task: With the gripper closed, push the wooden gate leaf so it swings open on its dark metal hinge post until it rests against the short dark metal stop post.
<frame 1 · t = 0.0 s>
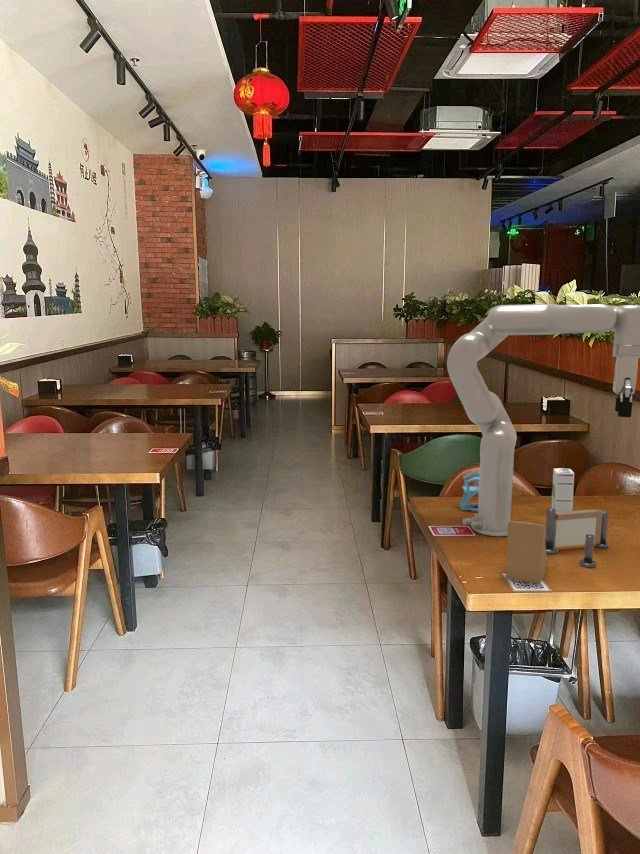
hand: (622, 414, 178), 37 cm above the table, tool pointing down, fingers open, 9 cm apart
gate leaf: (577, 528, 180), point 6 cm above the table, hinge at 0.0°
syrup box: (561, 513, 213), on the table
gate frame: (548, 551, 179), on the table
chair: (472, 509, 217), on the table
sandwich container: (527, 571, 166), on the table
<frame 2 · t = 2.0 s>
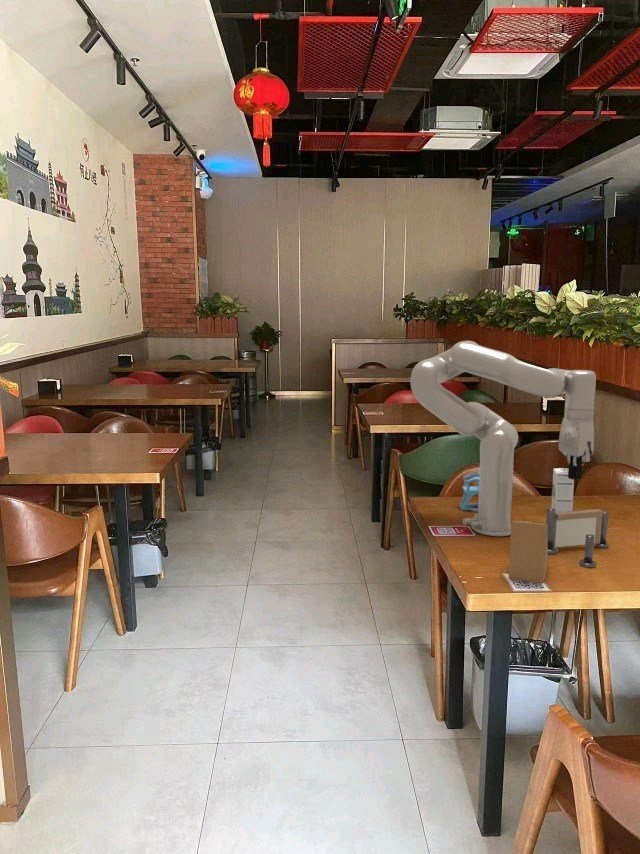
hand: (574, 478, 184), 18 cm above the table, tool pointing down, fingers closed
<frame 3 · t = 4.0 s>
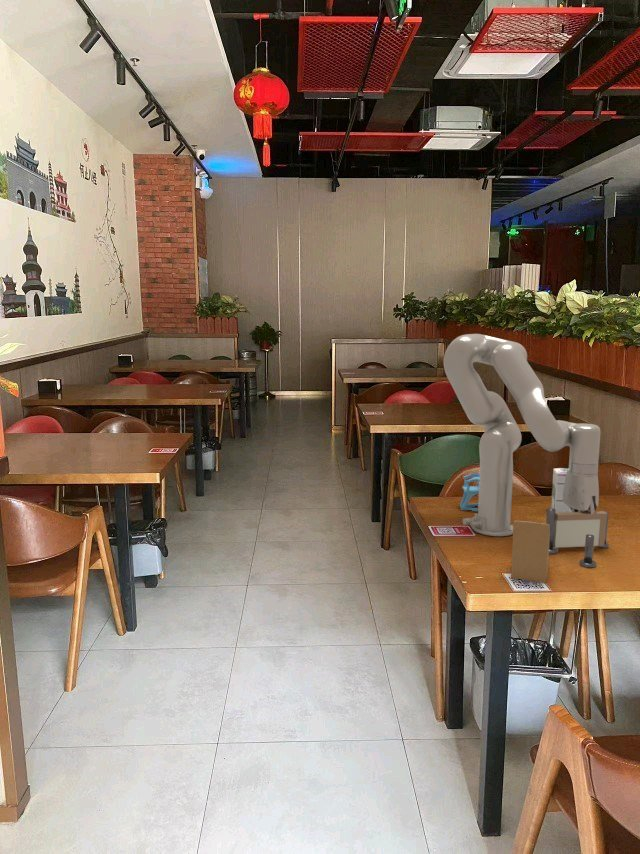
hand: (578, 531, 184), 4 cm above the table, tool pointing down, fingers closed
gate leaf: (579, 529, 179), point 6 cm above the table, hinge at 7.6°, touching gripper
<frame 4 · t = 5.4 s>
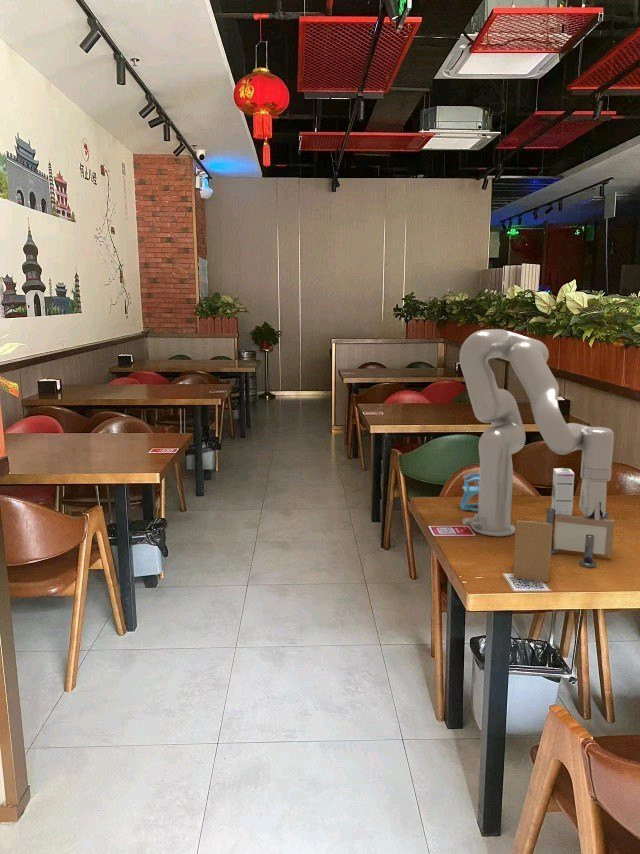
hand: (590, 537, 178), 4 cm above the table, tool pointing down, fingers closed
gate leaf: (583, 534, 175), point 6 cm above the table, hinge at 35.4°, touching gripper
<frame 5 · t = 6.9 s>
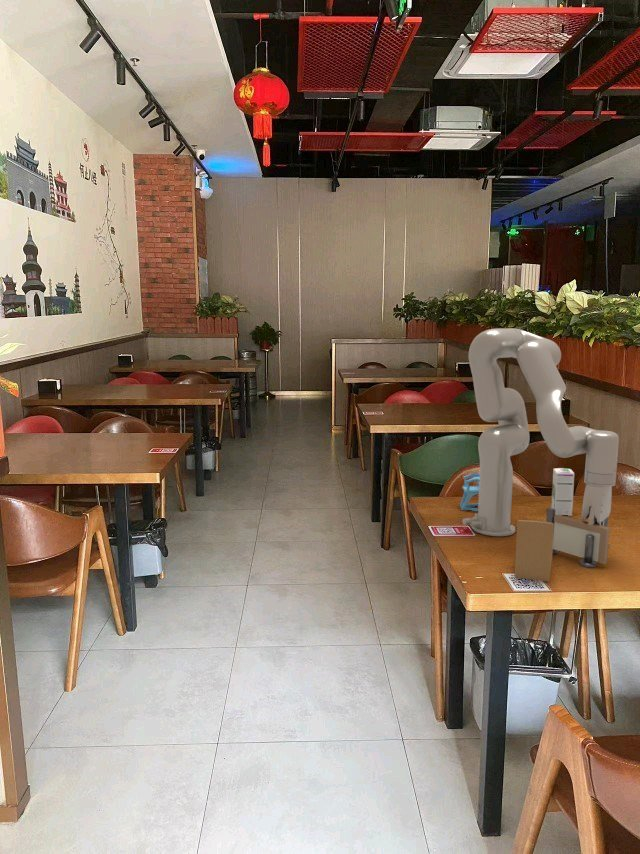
hand: (594, 544, 173), 4 cm above the table, tool pointing down, fingers closed
gate leaf: (580, 538, 172), point 6 cm above the table, hinge at 62.0°, touching gate frame, gripper
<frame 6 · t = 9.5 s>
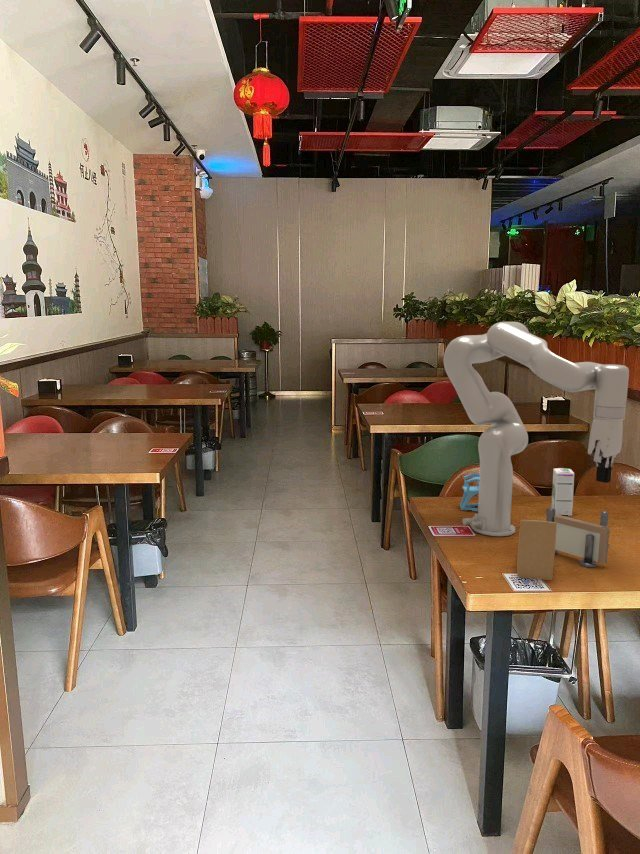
hand: (603, 481, 171), 21 cm above the table, tool pointing down, fingers closed
gate leaf: (580, 538, 172), point 6 cm above the table, hinge at 62.0°, touching gate frame
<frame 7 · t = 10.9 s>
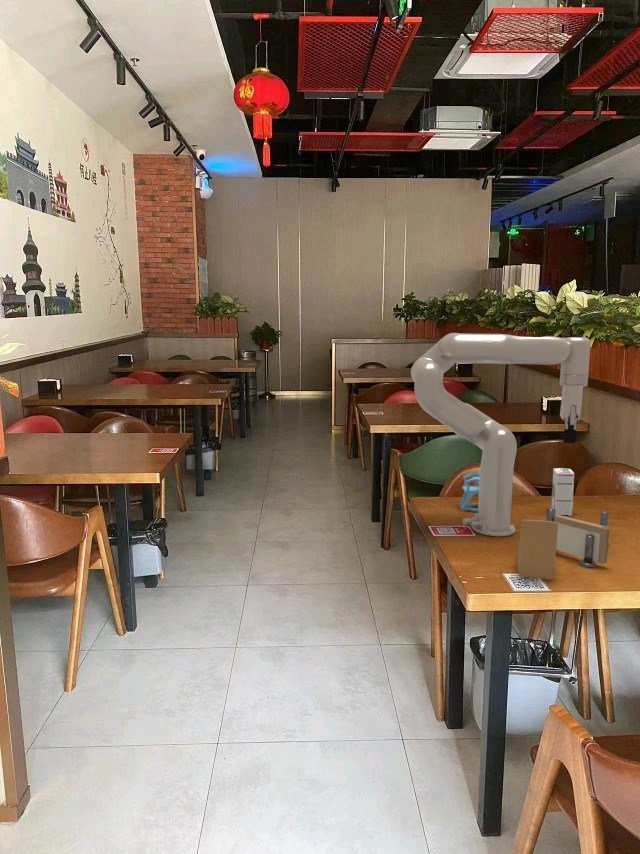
hand: (569, 442, 191), 27 cm above the table, tool pointing down, fingers closed
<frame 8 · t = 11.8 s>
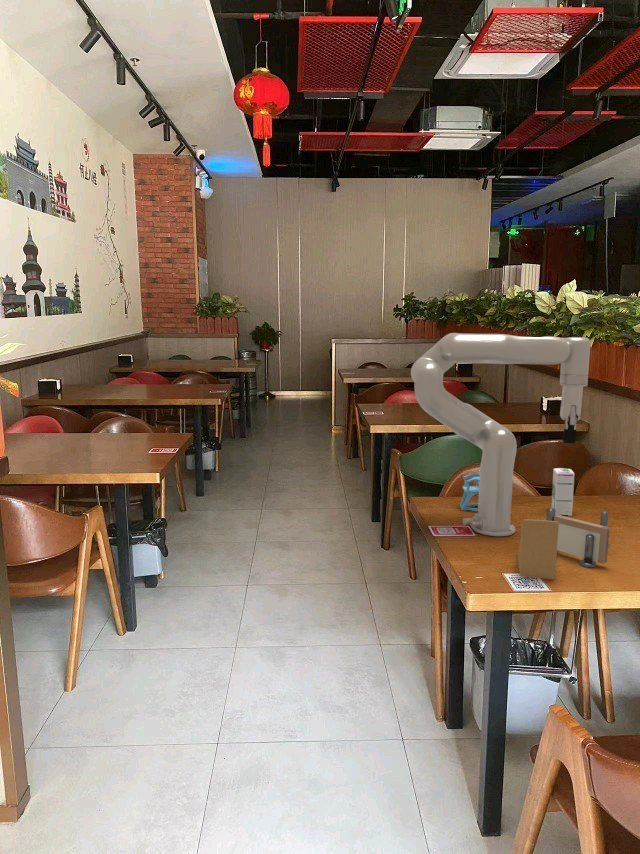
hand: (569, 442, 191), 27 cm above the table, tool pointing down, fingers closed
at the end: gate leaf at +62° (first picture: +0°); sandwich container moved 3.9 cm from its start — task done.
